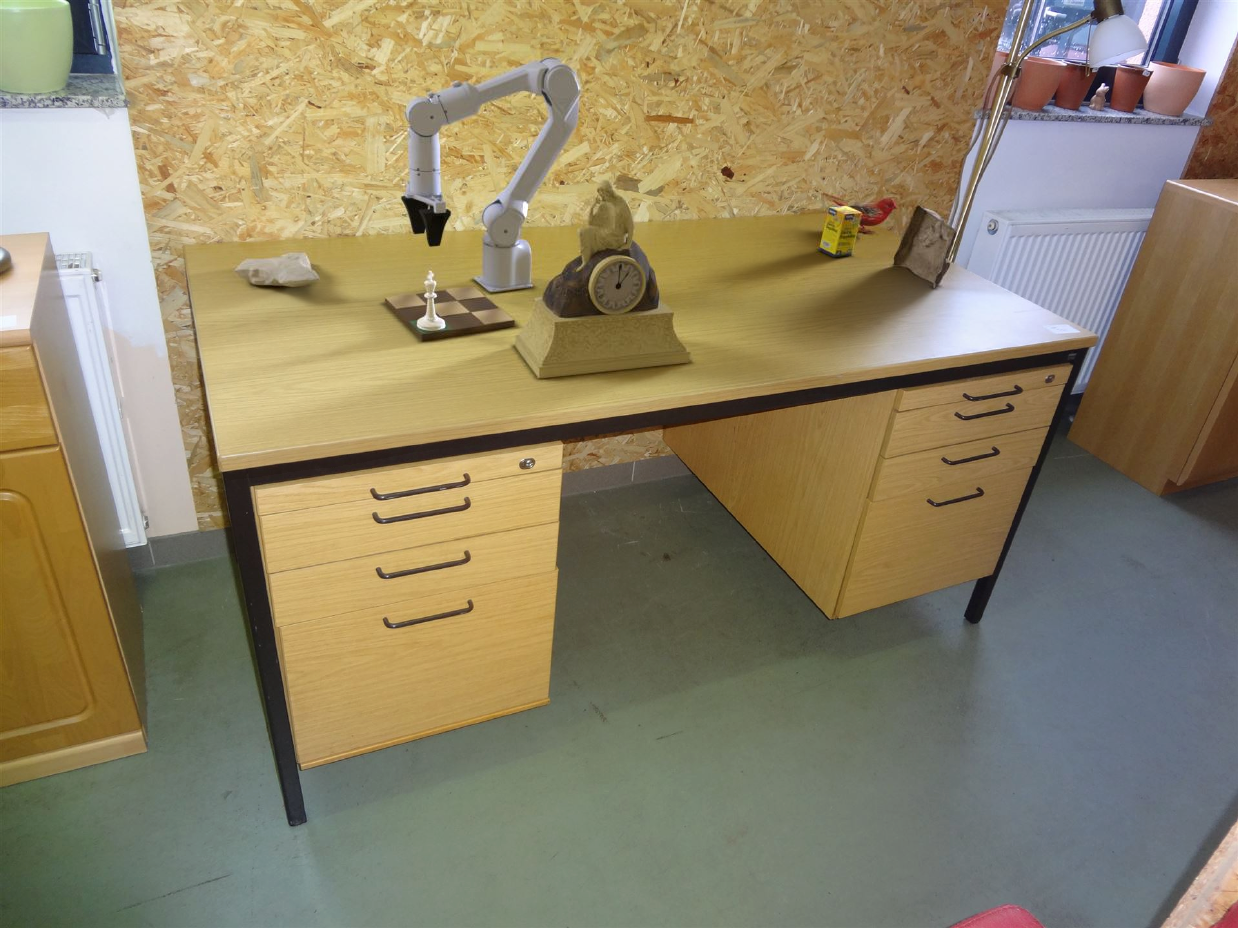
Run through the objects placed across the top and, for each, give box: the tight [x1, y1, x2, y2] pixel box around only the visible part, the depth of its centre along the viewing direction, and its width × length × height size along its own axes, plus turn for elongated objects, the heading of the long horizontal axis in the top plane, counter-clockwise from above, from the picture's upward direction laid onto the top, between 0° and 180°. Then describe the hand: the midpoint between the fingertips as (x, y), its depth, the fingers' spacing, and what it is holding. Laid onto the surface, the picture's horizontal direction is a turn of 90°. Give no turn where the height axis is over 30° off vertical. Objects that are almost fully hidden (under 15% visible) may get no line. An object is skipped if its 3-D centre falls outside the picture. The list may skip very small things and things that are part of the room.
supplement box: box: [819, 205, 862, 258], centre depth 213 cm, size 6×6×11 cm
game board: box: [384, 285, 515, 342], centre depth 161 cm, size 18×18×1 cm
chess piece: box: [417, 270, 445, 331], centre depth 150 cm, size 5×5×10 cm
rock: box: [234, 251, 320, 288], centre depth 165 cm, size 21×5×15 cm
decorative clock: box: [514, 179, 691, 379], centre depth 145 cm, size 28×13×30 cm, turn 114°
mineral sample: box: [892, 205, 958, 289], centre depth 202 cm, size 17×4×15 cm, turn 20°
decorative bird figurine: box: [832, 197, 898, 234], centre depth 233 cm, size 3×18×10 cm, turn 60°
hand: (426, 239), depth 167 cm, fingers open, 7 cm apart
